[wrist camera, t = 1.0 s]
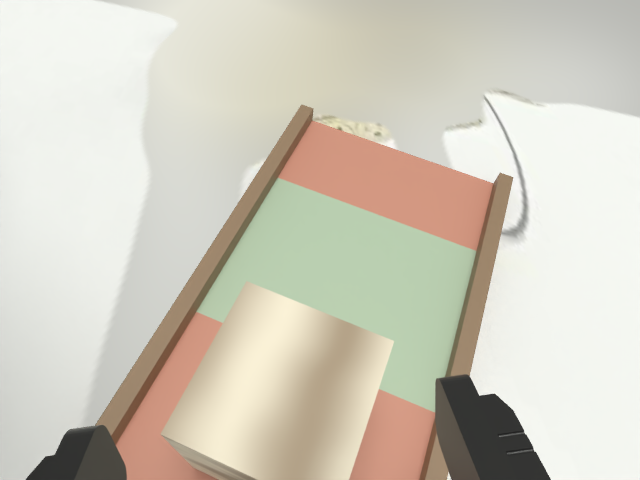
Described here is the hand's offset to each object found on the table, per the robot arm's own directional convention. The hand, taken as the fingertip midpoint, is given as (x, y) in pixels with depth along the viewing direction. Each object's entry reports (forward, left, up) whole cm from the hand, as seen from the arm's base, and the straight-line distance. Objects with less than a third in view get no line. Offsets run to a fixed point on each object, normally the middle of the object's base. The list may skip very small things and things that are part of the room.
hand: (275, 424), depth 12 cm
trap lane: (-1, +14, -20) cm, 24 cm away
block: (-1, +4, -20) cm, 21 cm away
